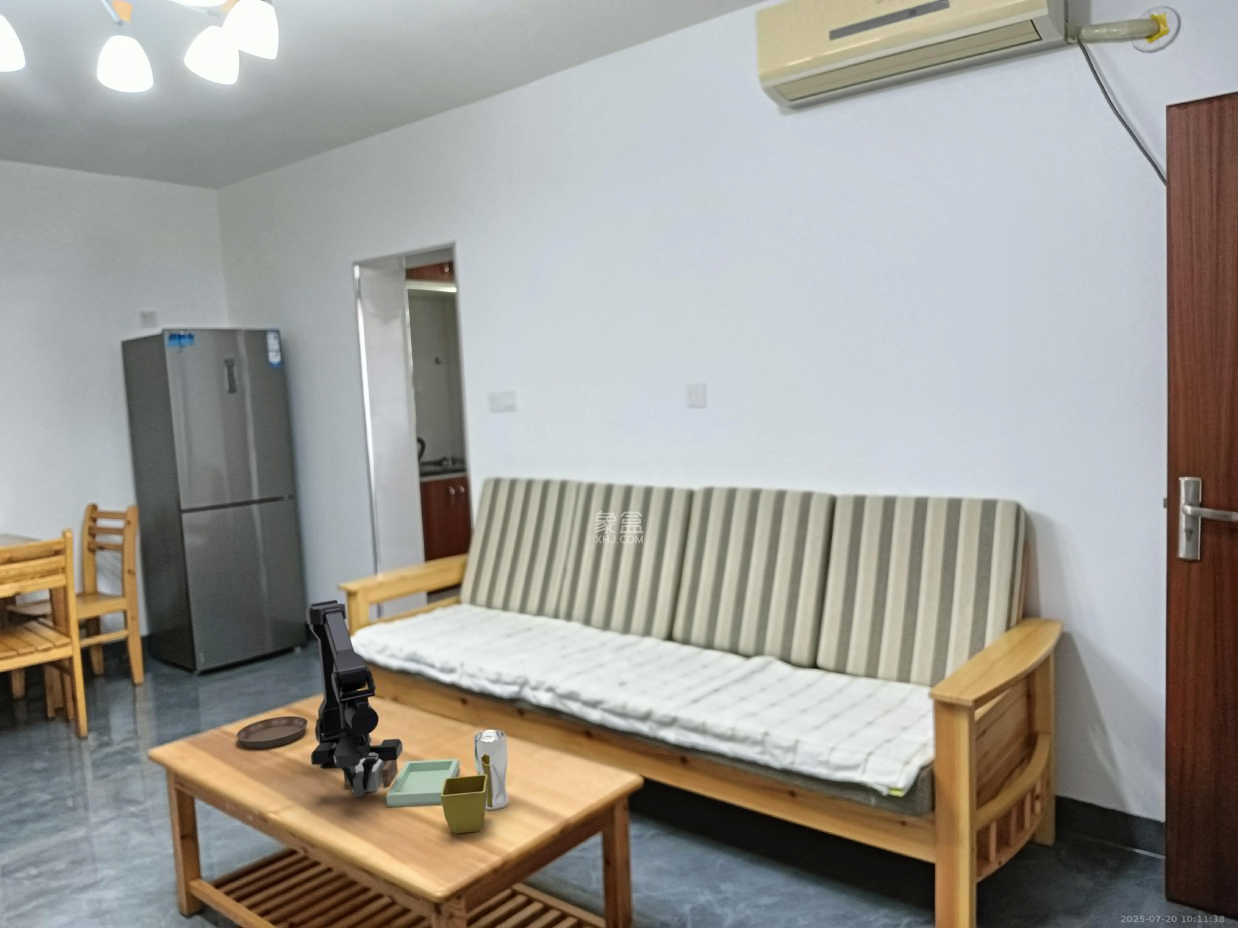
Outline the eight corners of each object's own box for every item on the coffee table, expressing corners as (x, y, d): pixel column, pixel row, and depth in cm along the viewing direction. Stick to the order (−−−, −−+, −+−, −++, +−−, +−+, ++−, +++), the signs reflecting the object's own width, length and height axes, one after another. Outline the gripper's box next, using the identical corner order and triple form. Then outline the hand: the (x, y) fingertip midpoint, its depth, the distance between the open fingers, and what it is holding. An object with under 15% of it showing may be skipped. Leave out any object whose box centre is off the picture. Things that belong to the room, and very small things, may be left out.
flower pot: (448, 819, 188) (444, 777, 188) (490, 815, 189) (487, 773, 188) (443, 839, 180) (440, 795, 179) (488, 835, 180) (485, 791, 180)
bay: (345, 788, 206) (343, 771, 206) (355, 773, 214) (354, 756, 214) (388, 786, 206) (387, 769, 206) (397, 771, 214) (396, 754, 214)
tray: (387, 806, 196) (386, 795, 195) (406, 771, 213) (406, 761, 213) (444, 803, 195) (444, 792, 195) (459, 769, 213) (458, 758, 213)
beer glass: (516, 797, 196) (511, 730, 195) (501, 812, 190) (496, 742, 189) (487, 794, 199) (482, 728, 197) (472, 809, 192) (466, 740, 191)
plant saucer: (223, 744, 239) (222, 732, 238) (282, 721, 253) (281, 711, 253) (263, 756, 228) (262, 745, 228) (322, 732, 243) (321, 721, 243)
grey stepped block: (346, 800, 200) (344, 779, 200) (362, 777, 212) (360, 757, 212) (371, 798, 200) (370, 777, 200) (385, 775, 212) (384, 755, 211)
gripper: (299, 736, 192) (305, 808, 193) (387, 731, 192) (393, 803, 193) (316, 717, 203) (322, 785, 204) (400, 712, 203) (405, 780, 204)
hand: (360, 788), depth 201 cm, fingers closed on grey stepped block, 2 cm apart
